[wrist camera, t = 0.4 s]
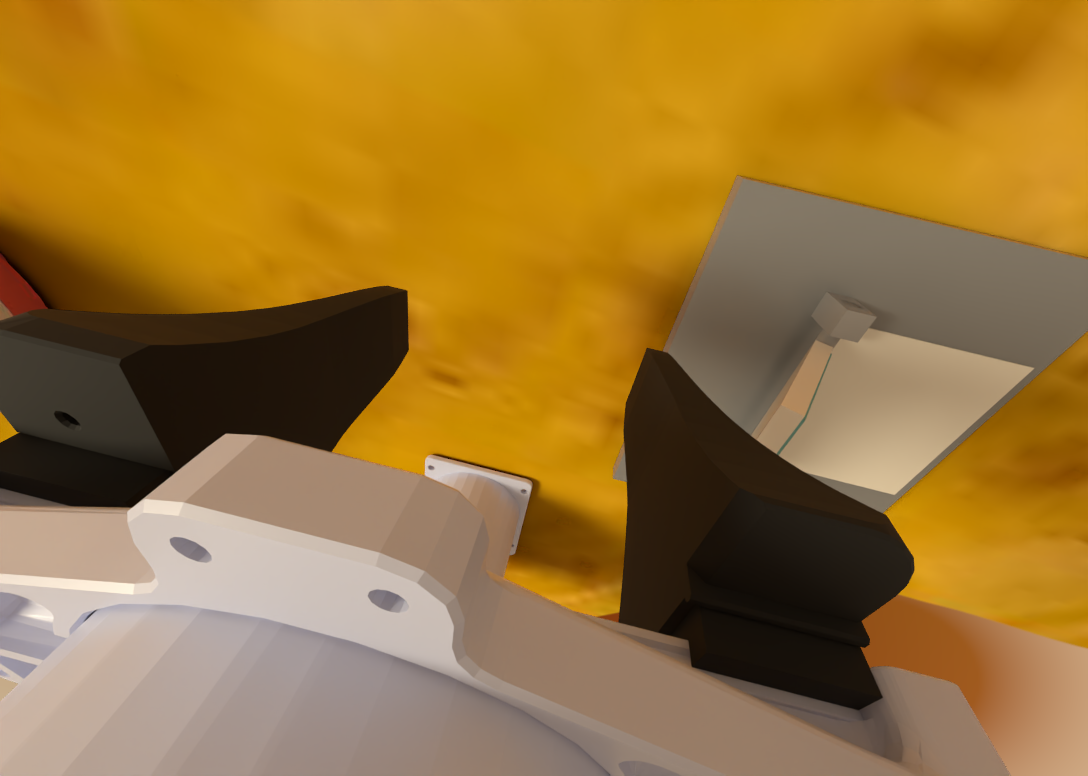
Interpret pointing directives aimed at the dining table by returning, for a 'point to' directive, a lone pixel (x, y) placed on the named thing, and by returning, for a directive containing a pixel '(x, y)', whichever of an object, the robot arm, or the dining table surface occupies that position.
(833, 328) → the grey flat piece
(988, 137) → the dining table surface
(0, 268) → the citrus juicer
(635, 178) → the dining table surface
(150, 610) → the robot arm
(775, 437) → the tile
